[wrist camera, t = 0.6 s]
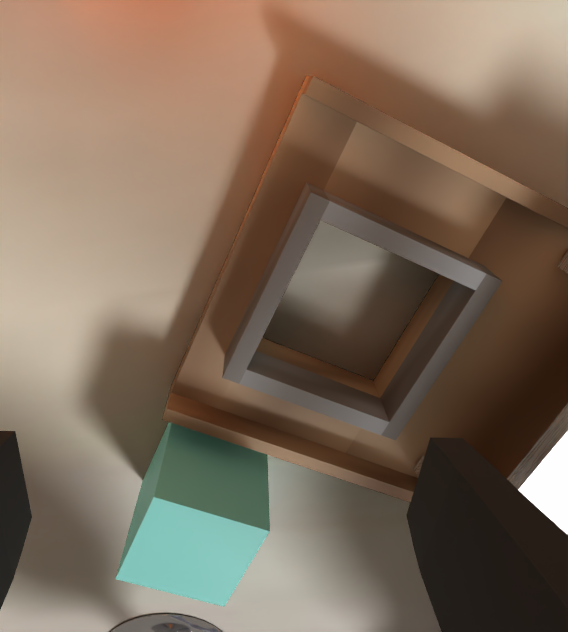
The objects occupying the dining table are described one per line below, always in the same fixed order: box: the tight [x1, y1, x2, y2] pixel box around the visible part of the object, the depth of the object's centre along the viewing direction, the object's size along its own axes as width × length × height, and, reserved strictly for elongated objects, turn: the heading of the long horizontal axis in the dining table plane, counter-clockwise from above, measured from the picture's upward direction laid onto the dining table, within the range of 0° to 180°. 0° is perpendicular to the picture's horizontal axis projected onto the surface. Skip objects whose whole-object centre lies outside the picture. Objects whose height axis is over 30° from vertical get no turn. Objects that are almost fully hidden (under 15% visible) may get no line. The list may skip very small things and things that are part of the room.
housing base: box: [162, 76, 568, 502], centre depth 19 cm, size 19×12×3 cm, turn 65°
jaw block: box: [116, 422, 270, 607], centre depth 20 cm, size 4×4×5 cm
